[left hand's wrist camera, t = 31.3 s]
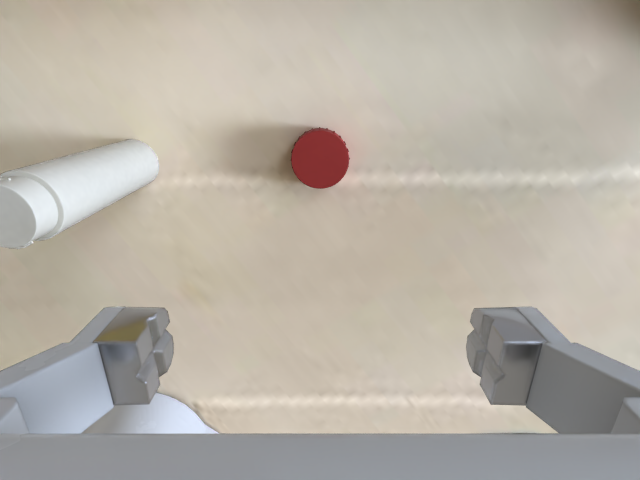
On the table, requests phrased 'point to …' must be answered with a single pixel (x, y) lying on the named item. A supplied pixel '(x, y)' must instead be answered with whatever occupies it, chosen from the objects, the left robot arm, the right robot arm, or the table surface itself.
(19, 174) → the white cylindrical bottle
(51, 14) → the table surface
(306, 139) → the lid
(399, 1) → the table surface
